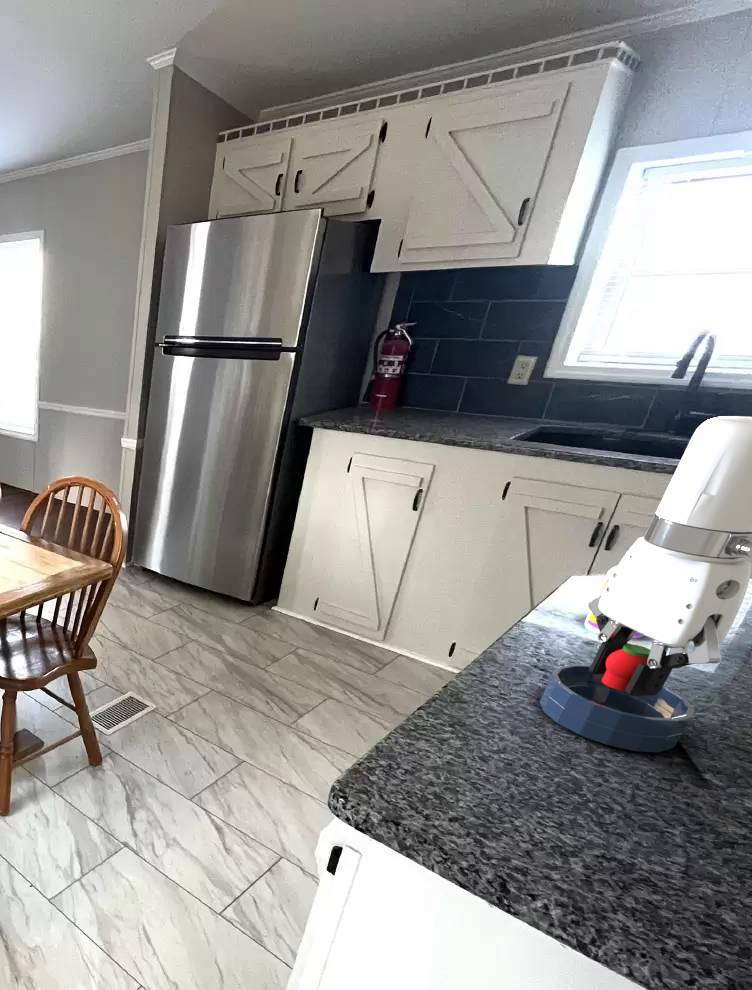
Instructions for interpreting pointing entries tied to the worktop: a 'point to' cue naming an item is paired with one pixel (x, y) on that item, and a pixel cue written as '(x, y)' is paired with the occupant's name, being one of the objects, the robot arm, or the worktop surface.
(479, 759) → the worktop surface
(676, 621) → the robot arm
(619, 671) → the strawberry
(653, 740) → the bowl
